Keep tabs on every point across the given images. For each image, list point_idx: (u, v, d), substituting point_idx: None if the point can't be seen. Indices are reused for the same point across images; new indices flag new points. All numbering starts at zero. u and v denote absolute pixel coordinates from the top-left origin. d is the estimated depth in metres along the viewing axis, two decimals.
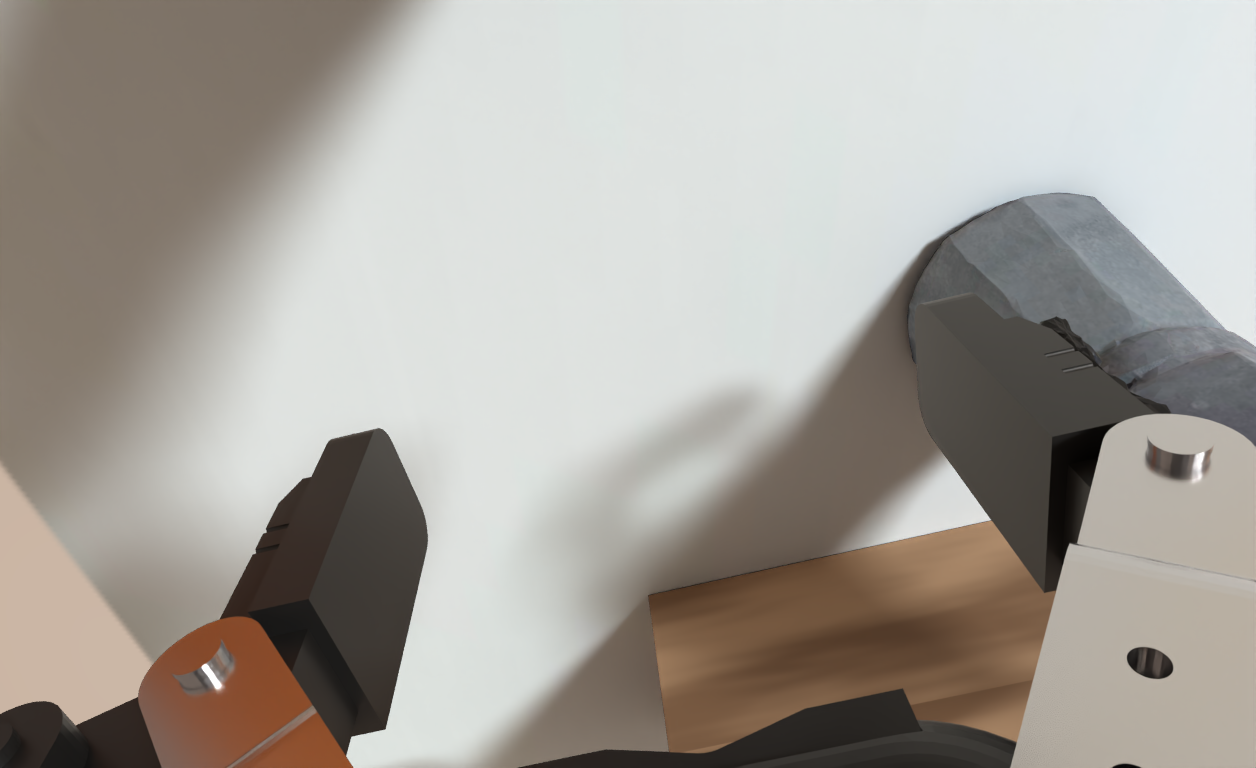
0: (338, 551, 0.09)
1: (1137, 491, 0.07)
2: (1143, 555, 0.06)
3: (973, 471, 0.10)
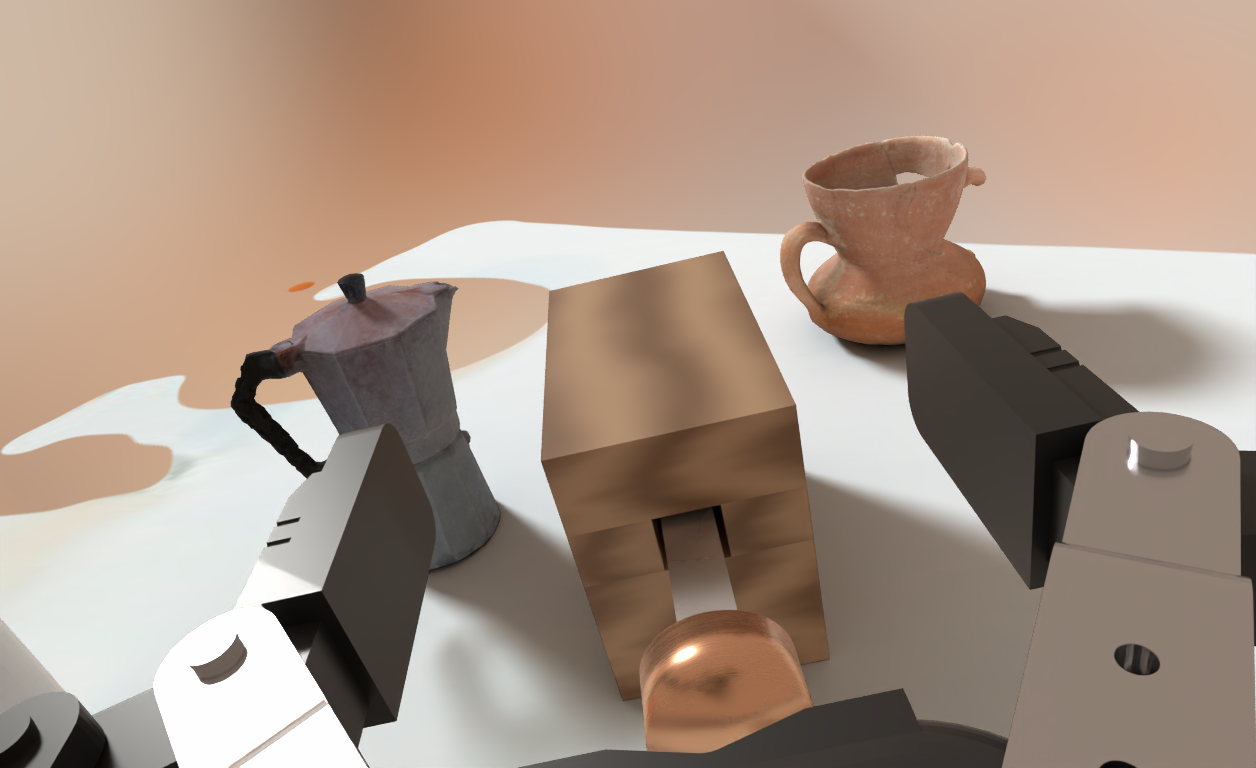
0: (350, 544, 0.09)
1: (1119, 488, 0.07)
2: (1126, 552, 0.06)
3: (961, 469, 0.11)
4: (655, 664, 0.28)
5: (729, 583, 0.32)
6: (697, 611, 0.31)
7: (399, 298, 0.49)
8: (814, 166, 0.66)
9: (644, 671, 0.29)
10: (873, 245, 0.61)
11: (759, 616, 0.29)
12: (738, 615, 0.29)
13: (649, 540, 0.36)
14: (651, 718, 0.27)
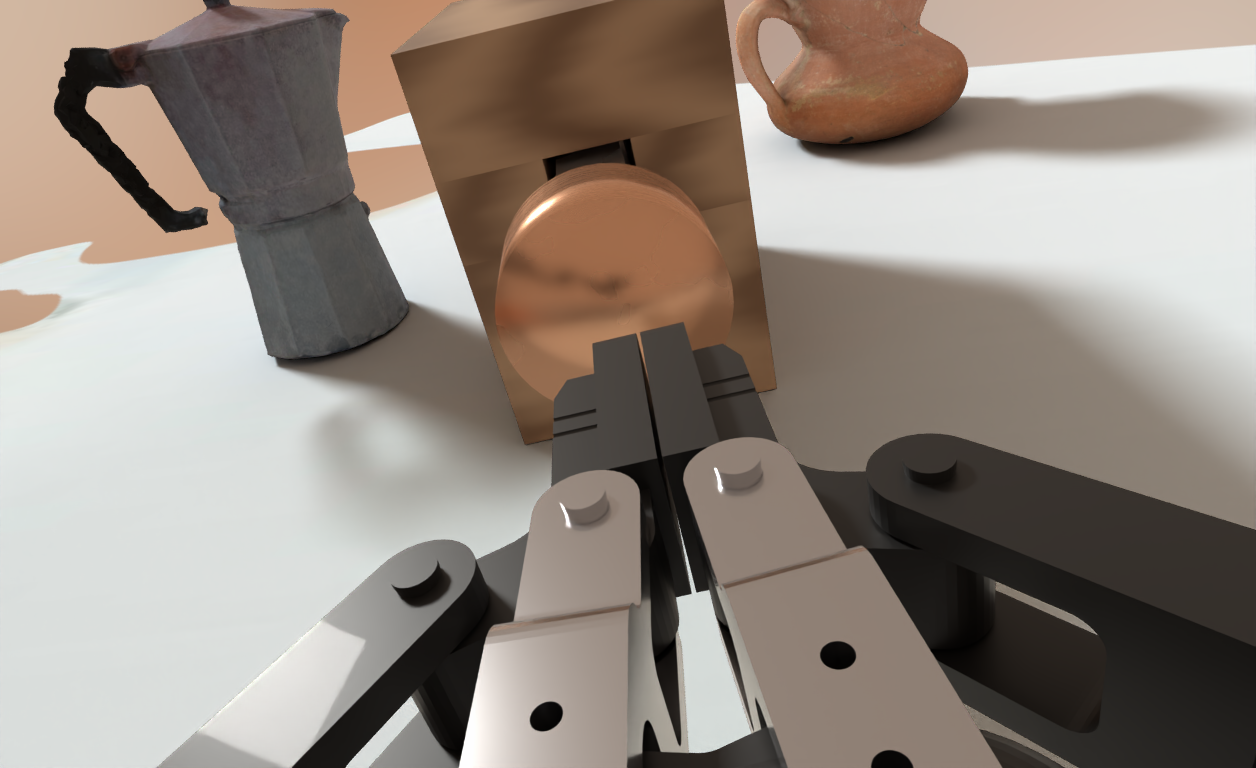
0: (653, 426, 0.10)
1: (731, 516, 0.08)
2: (766, 566, 0.07)
3: None
4: (513, 228, 0.21)
5: None
6: None
7: (270, 9, 0.41)
8: None
9: (502, 252, 0.21)
10: (840, 14, 0.53)
11: (658, 175, 0.21)
12: (628, 167, 0.21)
13: None
14: (499, 277, 0.19)
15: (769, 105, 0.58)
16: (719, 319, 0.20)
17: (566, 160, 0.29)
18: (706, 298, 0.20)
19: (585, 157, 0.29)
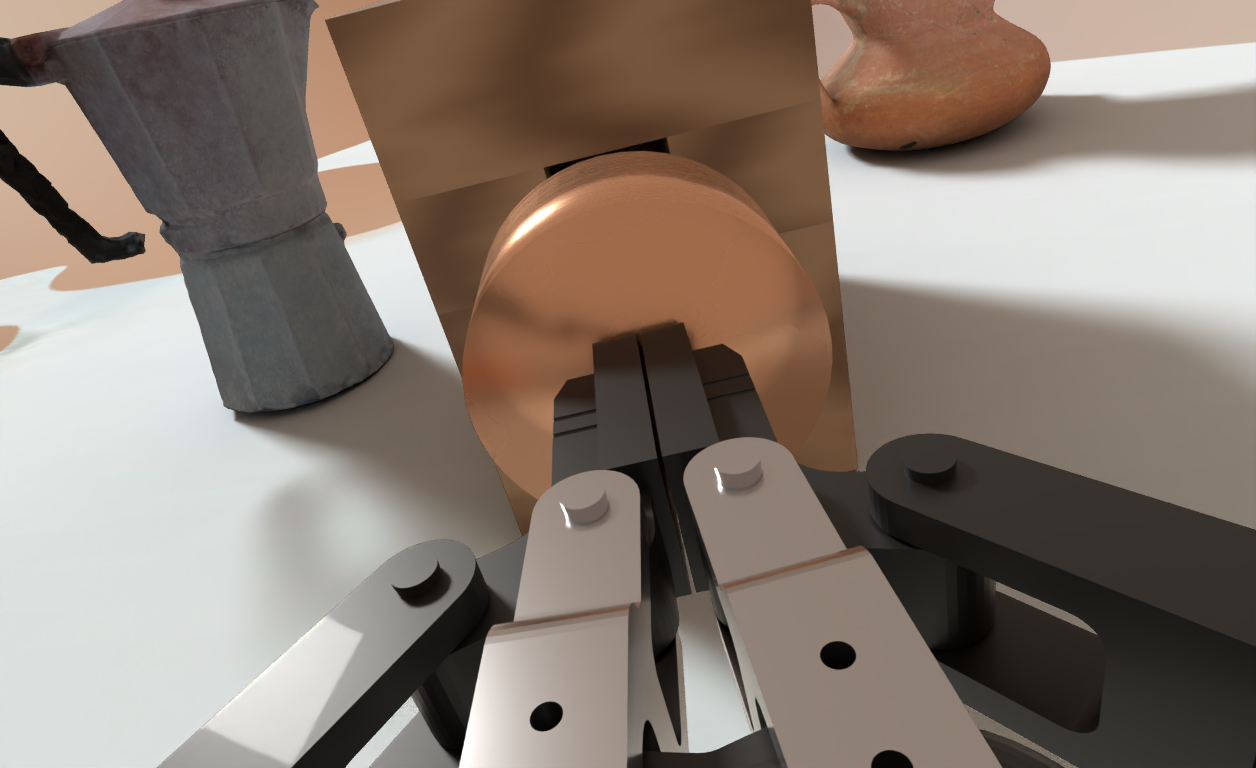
0: (653, 427, 0.10)
1: (731, 516, 0.08)
2: (766, 567, 0.07)
3: None
4: (493, 251, 0.14)
5: None
6: None
7: None
8: None
9: (479, 285, 0.14)
10: None
11: (711, 169, 0.14)
12: (667, 157, 0.14)
13: None
14: (469, 327, 0.12)
15: None
16: (809, 387, 0.13)
17: None
18: (790, 356, 0.13)
19: (602, 153, 0.22)
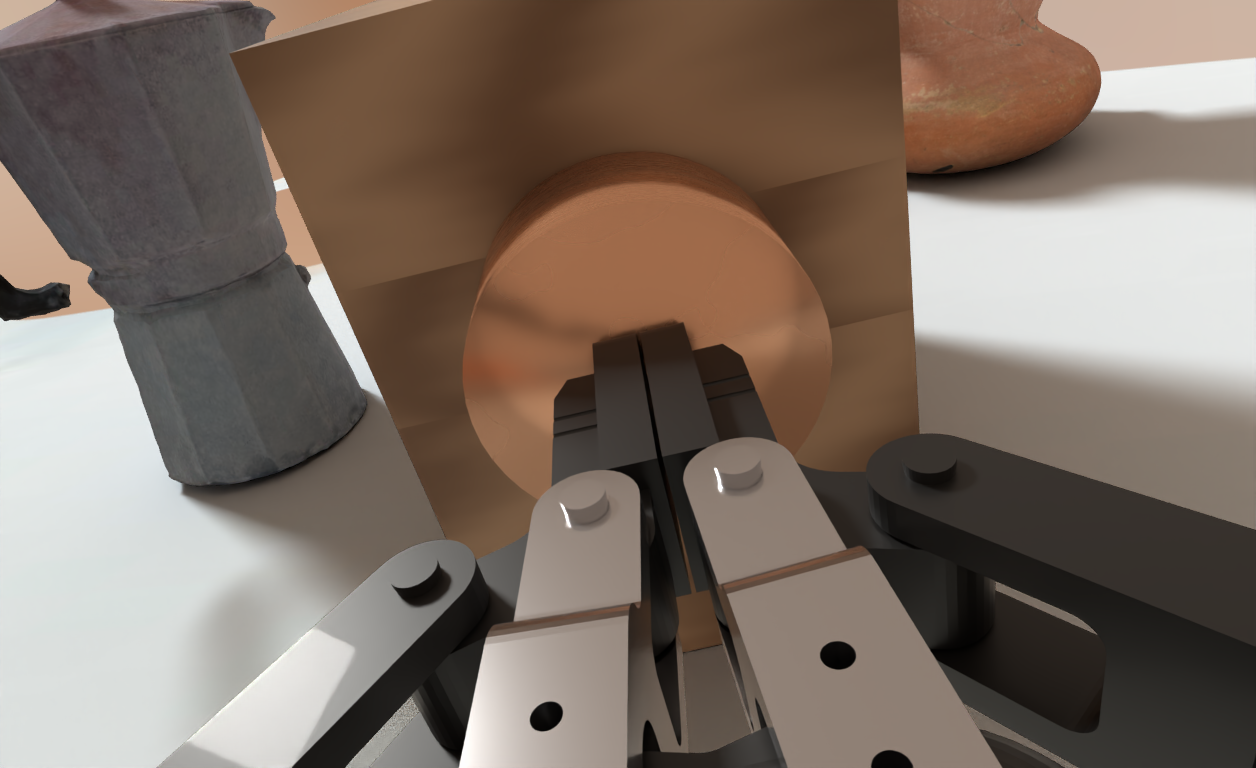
0: (653, 427, 0.10)
1: (731, 516, 0.08)
2: (766, 567, 0.07)
3: None
4: (493, 251, 0.14)
5: None
6: None
7: (151, 0, 0.29)
8: None
9: None
10: (939, 5, 0.40)
11: (710, 169, 0.14)
12: (666, 157, 0.14)
13: None
14: (469, 327, 0.12)
15: None
16: (808, 387, 0.13)
17: None
18: (790, 356, 0.13)
19: None
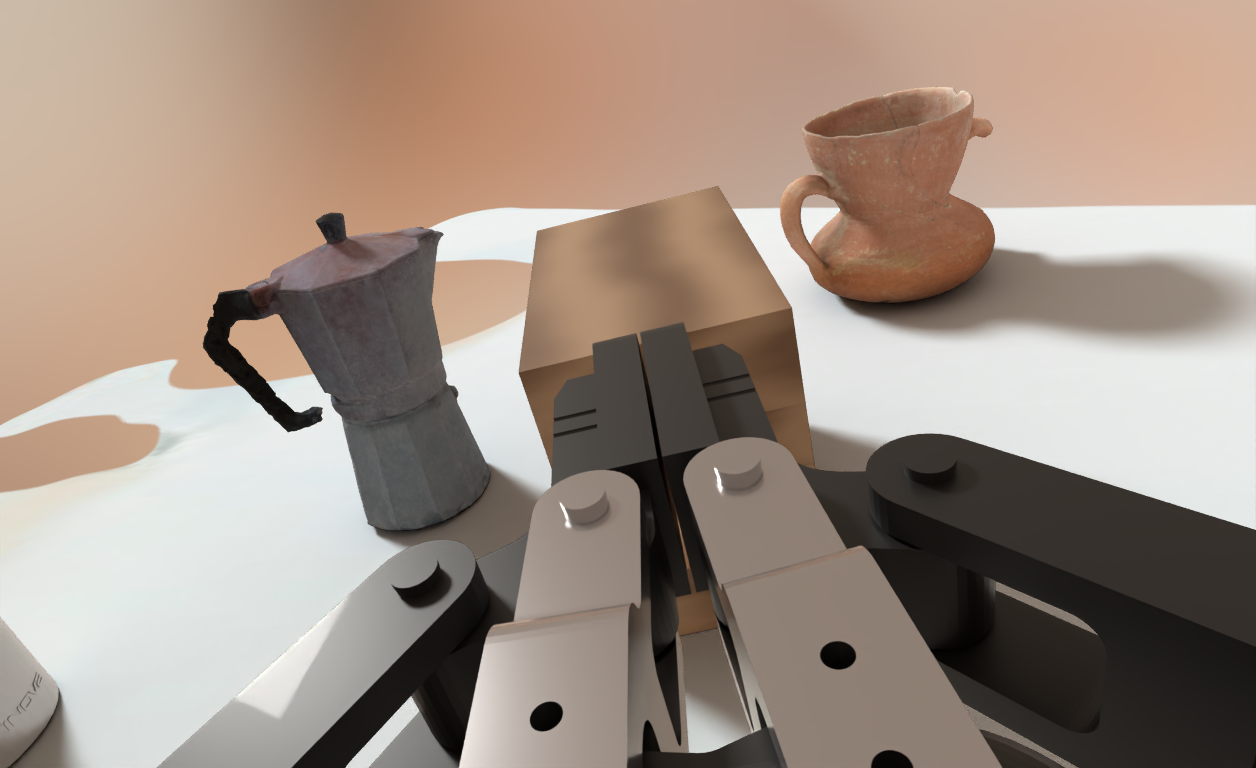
0: (652, 426, 0.10)
1: (731, 516, 0.08)
2: (766, 567, 0.07)
3: None
4: None
5: None
6: None
7: (380, 239, 0.47)
8: (814, 120, 0.64)
9: None
10: (876, 196, 0.59)
11: None
12: None
13: None
14: None
15: (811, 267, 0.63)
16: None
17: None
18: None
19: None
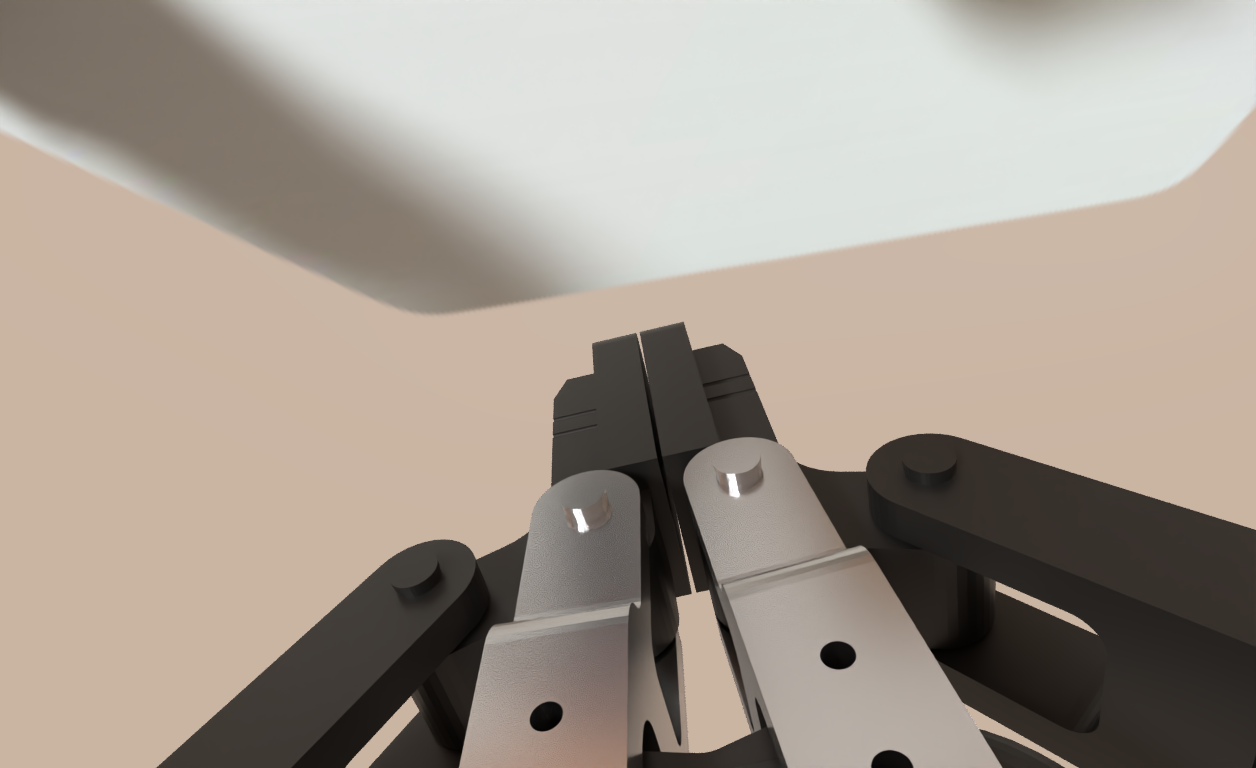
0: (653, 426, 0.10)
1: (731, 516, 0.08)
2: (766, 567, 0.07)
3: None
4: None
5: None
6: None
7: None
8: None
9: None
10: None
11: None
12: None
13: None
14: None
15: None
16: None
17: None
18: None
19: None
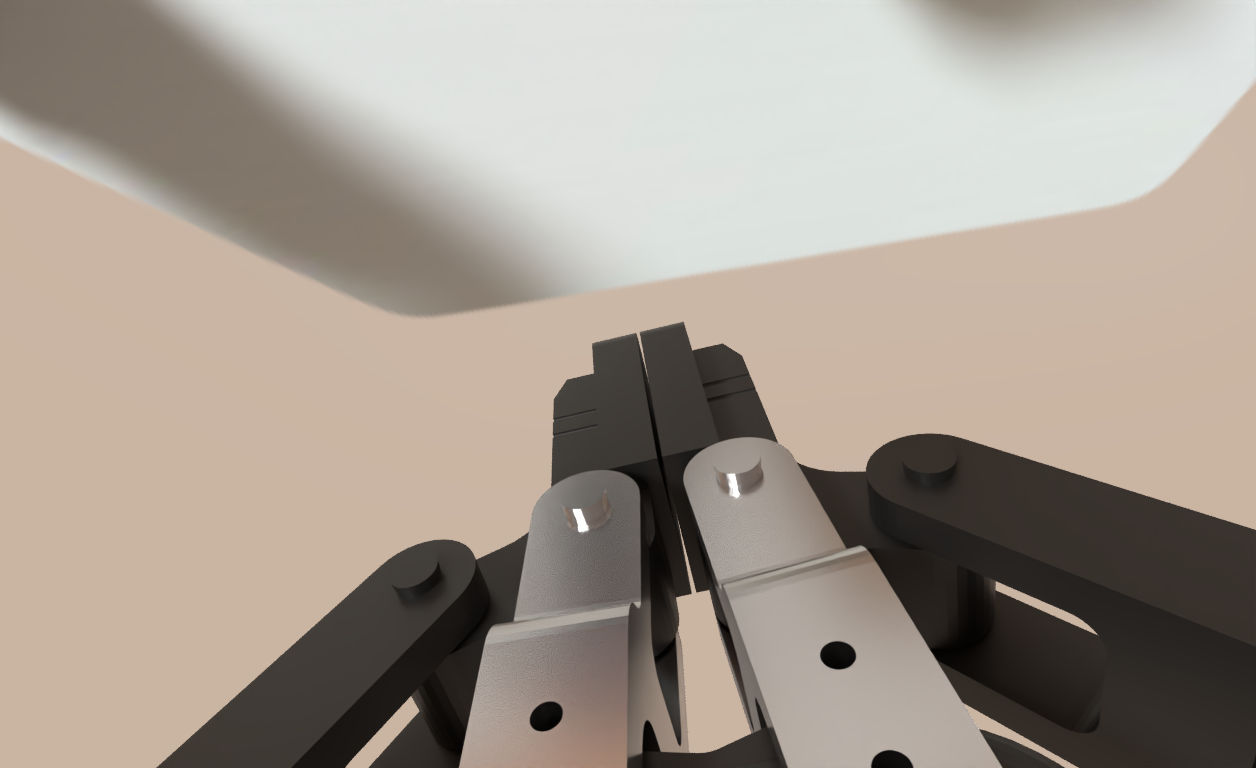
0: (652, 427, 0.10)
1: (731, 516, 0.08)
2: (766, 567, 0.07)
3: None
4: None
5: None
6: None
7: None
8: None
9: None
10: None
11: None
12: None
13: None
14: None
15: None
16: None
17: None
18: None
19: None
